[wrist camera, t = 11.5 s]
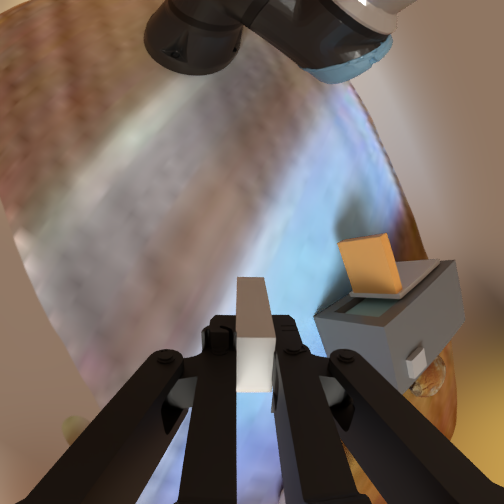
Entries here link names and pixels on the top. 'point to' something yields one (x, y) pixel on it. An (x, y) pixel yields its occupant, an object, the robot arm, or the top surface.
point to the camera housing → (398, 326)
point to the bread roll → (430, 379)
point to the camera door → (380, 268)
